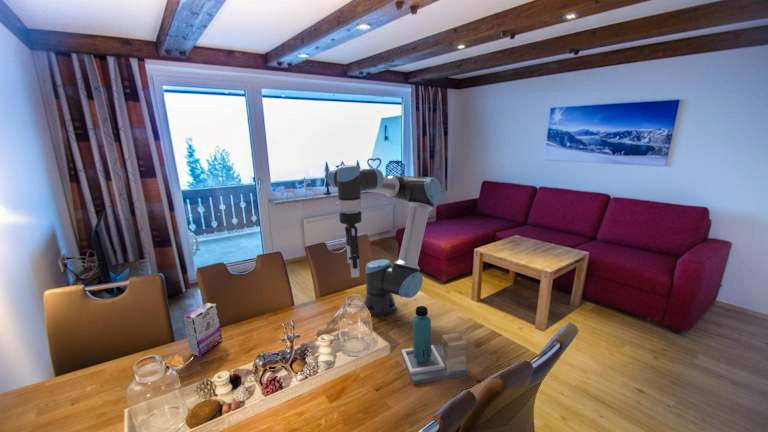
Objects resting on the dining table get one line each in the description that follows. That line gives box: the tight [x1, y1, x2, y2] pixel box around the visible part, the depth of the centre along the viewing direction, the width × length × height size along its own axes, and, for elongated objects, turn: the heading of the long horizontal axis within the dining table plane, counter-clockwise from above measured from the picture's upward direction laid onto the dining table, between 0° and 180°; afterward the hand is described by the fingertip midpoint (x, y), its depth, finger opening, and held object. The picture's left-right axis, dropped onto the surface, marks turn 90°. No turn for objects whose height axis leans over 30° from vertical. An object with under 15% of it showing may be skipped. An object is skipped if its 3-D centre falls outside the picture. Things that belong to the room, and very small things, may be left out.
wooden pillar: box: [441, 332, 467, 372], centre depth 112 cm, size 6×6×10 cm
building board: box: [400, 344, 469, 385], centre depth 116 cm, size 16×19×2 cm
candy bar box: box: [183, 302, 223, 357], centre depth 128 cm, size 11×5×16 cm, turn 161°
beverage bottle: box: [412, 305, 432, 362], centre depth 114 cm, size 6×7×20 cm
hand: (353, 269), depth 118 cm, fingers open, 13 cm apart
